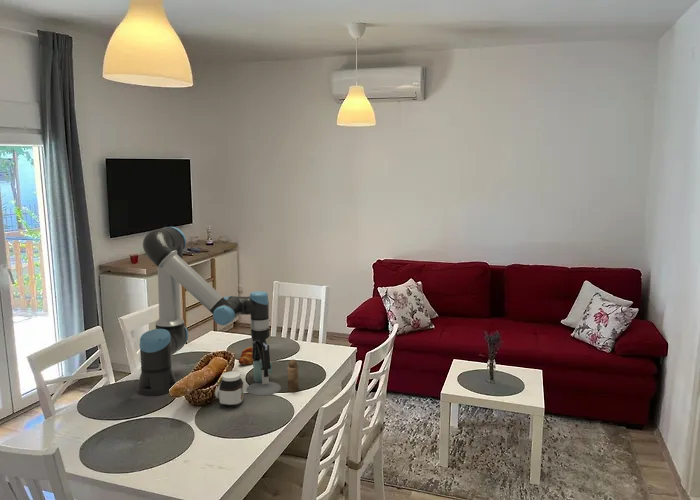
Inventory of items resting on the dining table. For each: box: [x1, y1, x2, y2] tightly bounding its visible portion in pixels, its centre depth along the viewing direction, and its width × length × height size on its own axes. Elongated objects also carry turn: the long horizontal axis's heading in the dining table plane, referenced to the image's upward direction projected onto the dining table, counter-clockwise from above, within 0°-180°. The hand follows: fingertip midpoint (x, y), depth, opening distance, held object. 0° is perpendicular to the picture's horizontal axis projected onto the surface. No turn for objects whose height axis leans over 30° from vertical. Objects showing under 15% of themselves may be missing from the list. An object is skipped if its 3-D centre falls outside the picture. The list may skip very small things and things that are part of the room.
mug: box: [252, 360, 273, 383], centre depth 231 cm, size 8×6×8 cm
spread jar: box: [214, 371, 244, 408], centre depth 208 cm, size 12×11×12 cm
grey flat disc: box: [245, 381, 282, 397], centre depth 222 cm, size 14×14×1 cm
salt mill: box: [286, 359, 300, 393], centre depth 220 cm, size 4×4×13 cm
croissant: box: [238, 346, 261, 366], centre depth 256 cm, size 21×10×8 cm, turn 158°
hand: (261, 380), depth 230 cm, fingers open, 9 cm apart
